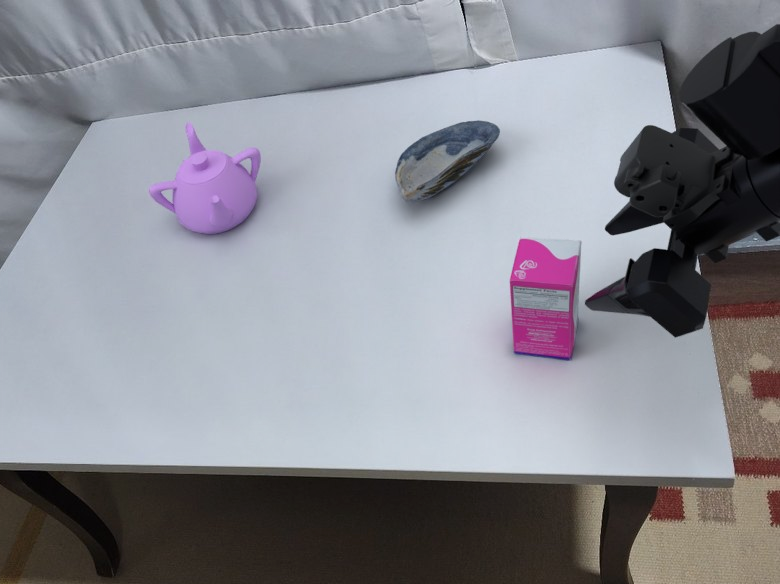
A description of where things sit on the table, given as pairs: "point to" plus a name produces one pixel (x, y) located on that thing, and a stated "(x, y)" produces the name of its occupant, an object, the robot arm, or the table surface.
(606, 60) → the table surface
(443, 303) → the table surface
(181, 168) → the teapot
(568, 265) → the supplement box
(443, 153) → the seashell
